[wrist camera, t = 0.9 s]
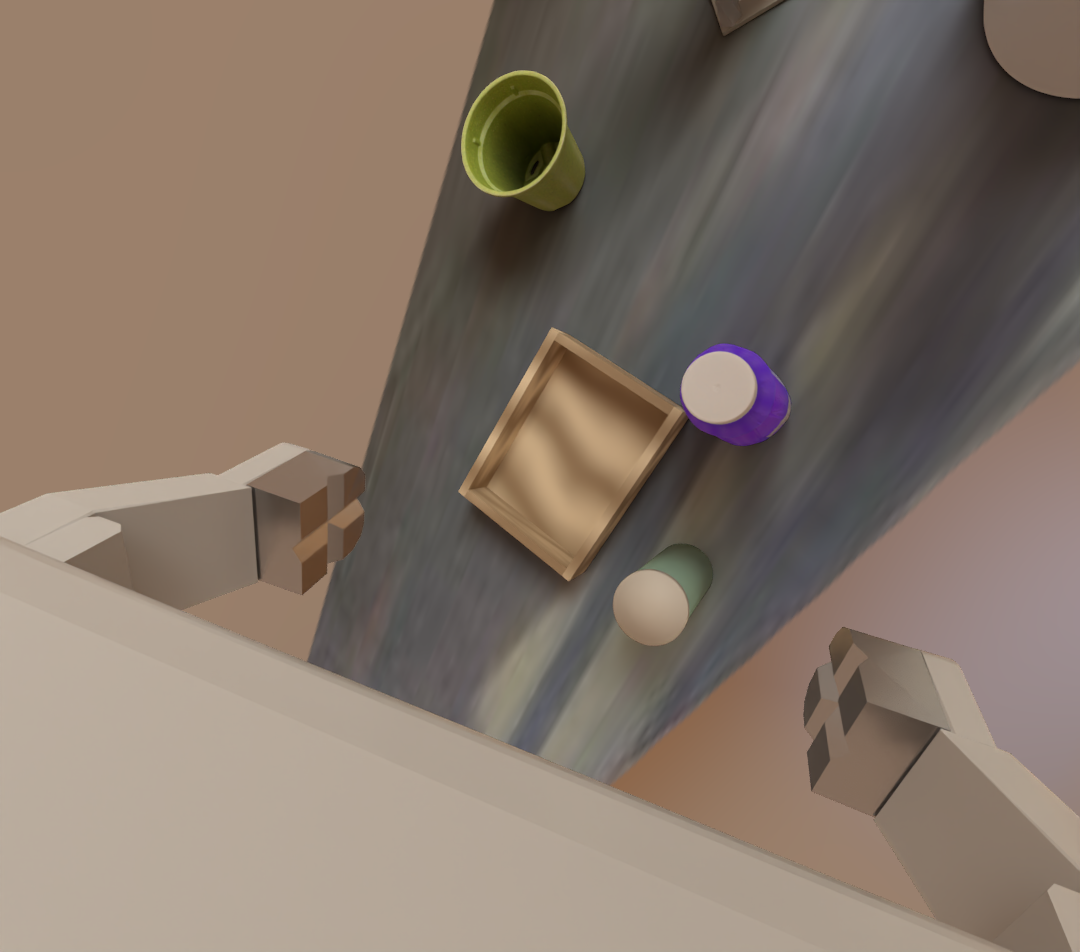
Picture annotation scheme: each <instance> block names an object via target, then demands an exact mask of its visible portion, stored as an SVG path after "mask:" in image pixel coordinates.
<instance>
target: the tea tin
mask: <svg viewBox="0 0 1080 952" xmlns="http://www.w3.org/2000/svg"><path fill="white" fill-rule="evenodd" d="M712 579H713V570H712V566H711V563H710V561H709V559H708V557H707V556H706V555H705V554H704V553H703V552H702V551H701V550H700V549H698V548H696V547H694V546H692V545H688V544H675V545H672V546H670V547H668V548H666V549H665V550H664V551H662V552H661V553H660V554H658V555H657V556H656V557H655V558H653V559H652V560H651V561H649V562H648V563H647V564H646V565H644V566H643V567H642V568H640V569H639V570H638V571H636V572H634V573H632V574H631V575H629V576H628V577H626V578H625V579H624V580H623V581H622V582H621V583H620V584H619V586H618V588H617V589H616V592H615V595H614V599H613V610H614V615H615V618H616V621H617V623H618V624H619V626H620V628H621V629H622V630H623V631H624V633H625V634H627V635H628V636H629V637H630V638H632V639H633V640H635V641H637V642H639V643H641V644H644V645H650V646H659V645H664V644H667V643H669V642H671V641H673V640H674V639H675V638H676V637H678V635H679V634H680V633H681V632H682V630H683V629H684V627H685V625H686V623H687V621H688V619H689V617H690V616H691V614H692V613H693V611H694V610H695V608H696V607H697V605H698V604H699V602H700V601H701V599H702V598H703V596H704V595H705V593H706V592H707V590H708V589H709V587H710V585H711V583H712Z"/></svg>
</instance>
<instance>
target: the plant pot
mask: <svg viewBox="0 0 1080 952" xmlns="http://www.w3.org/2000/svg"><path fill="white" fill-rule="evenodd" d="M461 151H462V159H463V164H464V167H465V170H466V172H467V174H468V176H469V178H470V179H471V181H472V182H473V183H474V184H475V185H476V186H477V187H478V188H479V189H481V190H482V191H484V192H485V193H487V194H490V195H493V196H497V197H514V198H517V199H519V200H521V201H523V202H526V203H528V204H530V205H532V206H534V207H536V208H538V209H541V210H545V211H554V210H556V209H558V208H560V207H563V206H565V205H567V204H569V203H570V202H571V201H572V200H573V199H574V198H575V197H576V196H577V194H578V193H579V191H580V189H581V187H582V184H583V181H584V177H585V167H584V161H583V157H582V154H581V152H580V150H579V148H578V146H577V144H576V142H575V140H574V138H573V136H572V134H571V132H570V130H569V128H568V126H567V113H566V108H565V104H564V100H563V98H562V96H561V94H560V92H559V90H558V89H557V87H556V86H555V85H554V83H553V82H552V81H551V80H549V79H548V78H547V77H545V76H543V75H541V74H539V73H536V72H533V71H515V72H511V73H509V74H506V75H504V76H501V77H499V78H498V79H496V80H495V81H493V82H492V83H491V84H490V85H488V86H487V87H486V88H485V89H484V91H482V93H481V94H480V95H479V96H478V98H477V99H476V101H475V102H474V104H473V105H472V107H471V110H470V112H469V114H468V116H467V119H466V121H465V124H464V128H463V133H462V142H461ZM538 160H539V164H538V166H537V167H536V169H535V171H534V174H533V175H531V170H532V167H533V166H534V164H535V163H536V162H537V161H538Z"/></svg>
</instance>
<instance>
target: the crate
mask: <svg viewBox="0 0 1080 952" xmlns="http://www.w3.org/2000/svg"><path fill="white" fill-rule="evenodd" d="M687 420H688V416H687V415H686V413H685V411H684V409H683V408H682V407H681V406H679V405H678V404H676V403H675V402H673V401H671V400H670V399H668V398H667V397H665V396H664V395H662V394H661V393H659V392H657V391H656V390H654V389H653V388H651V387H650V386H648V385H647V384H645V383H643V382H642V381H640V380H639V379H637V378H636V377H634V376H633V375H631V374H630V373H628V372H626V371H625V370H623V369H622V368H620V367H619V366H617V365H616V364H614V363H612V362H611V361H609V360H608V359H606V358H605V357H603V356H602V355H600V354H598V353H597V352H595V351H594V350H592V349H591V348H589V347H588V346H586V345H584V344H583V343H581V342H580V341H578V340H577V339H575V338H574V337H572V336H571V335H569V334H567V333H564V332H562V331H559V330H557V329H555V328H551V330H550V331H549V333H548V335H547V337H546V338H545V340H544V342H543V344H542V345H541V347H540V349H539V351H538V352H537V354H536V356H535V358H534V359H533V361H532V363H531V365H530V367H529V368H528V370H527V372H526V374H525V375H524V377H523V379H522V381H521V382H520V384H519V386H518V388H517V389H516V391H515V393H514V395H513V396H512V398H511V400H510V402H509V403H508V405H507V407H506V409H505V410H504V412H503V414H502V416H501V417H500V419H499V421H498V423H497V425H496V426H495V428H494V430H493V432H492V433H491V435H490V437H489V439H488V440H487V442H486V444H485V446H484V447H483V449H482V451H481V453H480V454H479V456H478V458H477V460H476V461H475V463H474V465H473V467H472V468H471V470H470V472H469V474H468V475H467V477H466V479H465V481H464V483H463V484H462V486H461V488H460V490H459V491H458V492H459V493H460V494H462V495H463V496H464V497H465V498H467V499H468V500H469V501H470V502H472V503H473V504H474V505H475V506H476V507H478V508H479V509H480V510H481V511H483V512H484V513H485V514H486V515H488V516H489V517H490V518H491V519H492V520H494V521H495V522H496V523H497V524H499V525H500V526H501V527H502V528H504V529H505V530H506V531H507V532H509V533H510V534H511V535H512V536H513V537H515V538H516V539H517V540H518V541H520V542H521V543H522V544H523V545H525V546H526V547H527V548H528V549H529V550H531V551H532V552H533V553H534V554H536V555H537V556H538V557H539V558H541V559H542V560H543V561H544V562H546V563H547V564H548V565H549V566H550V567H552V568H553V569H554V570H555V571H557V572H558V573H559V574H560V575H562V576H563V577H564V578H565V579H566V580H568V581H570V580H572V579H574V578H575V577H577V576H579V575H580V574H582V573H584V572H585V571H586V569H587V568H588V566H589V565H590V563H591V562H592V560H593V559H594V557H595V556H596V554H597V553H598V551H599V550H600V549H601V547H602V546H603V544H604V543H605V541H606V540H607V538H608V537H609V535H610V534H611V532H612V531H613V529H614V528H615V526H616V525H617V523H618V522H619V520H620V519H621V518H622V516H623V515H624V513H625V512H626V510H627V509H628V507H629V506H630V504H631V503H632V501H633V500H634V498H635V497H636V495H637V494H638V492H639V491H640V489H641V488H642V486H643V485H644V484H645V482H646V481H647V479H648V478H649V476H650V475H651V473H652V472H653V470H654V469H655V467H656V466H657V464H658V463H659V461H660V460H661V458H662V457H663V455H664V454H665V452H666V451H667V450H668V448H669V447H670V445H671V444H672V442H673V441H674V439H675V438H676V436H677V435H678V433H679V432H680V430H681V429H682V427H683V426H684V424H685V423H686V421H687Z"/></svg>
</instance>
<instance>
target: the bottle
mask: <svg viewBox="0 0 1080 952" xmlns="http://www.w3.org/2000/svg"><path fill="white" fill-rule="evenodd" d="M680 399H681V403H682V406H683V409H684V411H685V413H686V415H687V416H688V418H689V419H690V421H691V422H692V423H693V424H694V425H695V426H696V427H697V428H699V429H700V430H701V431H703V432H706V433H708V434H711V435H714V436H717V437H718V438H720V439H722V440H724V441H726V442H728V443H731V444H733V445H737V446H748V445H752V444H756V443H759V442H763V441H765V440H767V439H768V438H769V437H770V436H772V435H774V434H775V433H776V432H777V431H778V430H779V429H780V428H781V427H782V426H783V425H784V423H785V421H786V420H787V419H788V418H789V415H790V411H791V399H790V396H789V394H788V392H787V390H786V388H785V386H784V384H783V383H782V381H781V380H780V379H779V377H778V376H777V375H776V374H775V373H774V372H773V371H772V370H771V369H770V368H769V367H768V365H767V364H766V363H765V362H764V360H763V359H762V358H761V357H760V356H759V355H757V354H756V353H754V352H753V351H750V350H748V349H745V348H742V347H739V346H736V345H731V344H717V345H715V346H712V347H710V348H708V349H707V350H705V351H704V352H702V353H701V354H699V355H698V356H697V357H696V358H695V359H694V360H693V361H692V362H691V364H690V365H689V366H688V367H687V370H686V372H685V374H684V377H683V379H682V382H681V386H680Z"/></svg>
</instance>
